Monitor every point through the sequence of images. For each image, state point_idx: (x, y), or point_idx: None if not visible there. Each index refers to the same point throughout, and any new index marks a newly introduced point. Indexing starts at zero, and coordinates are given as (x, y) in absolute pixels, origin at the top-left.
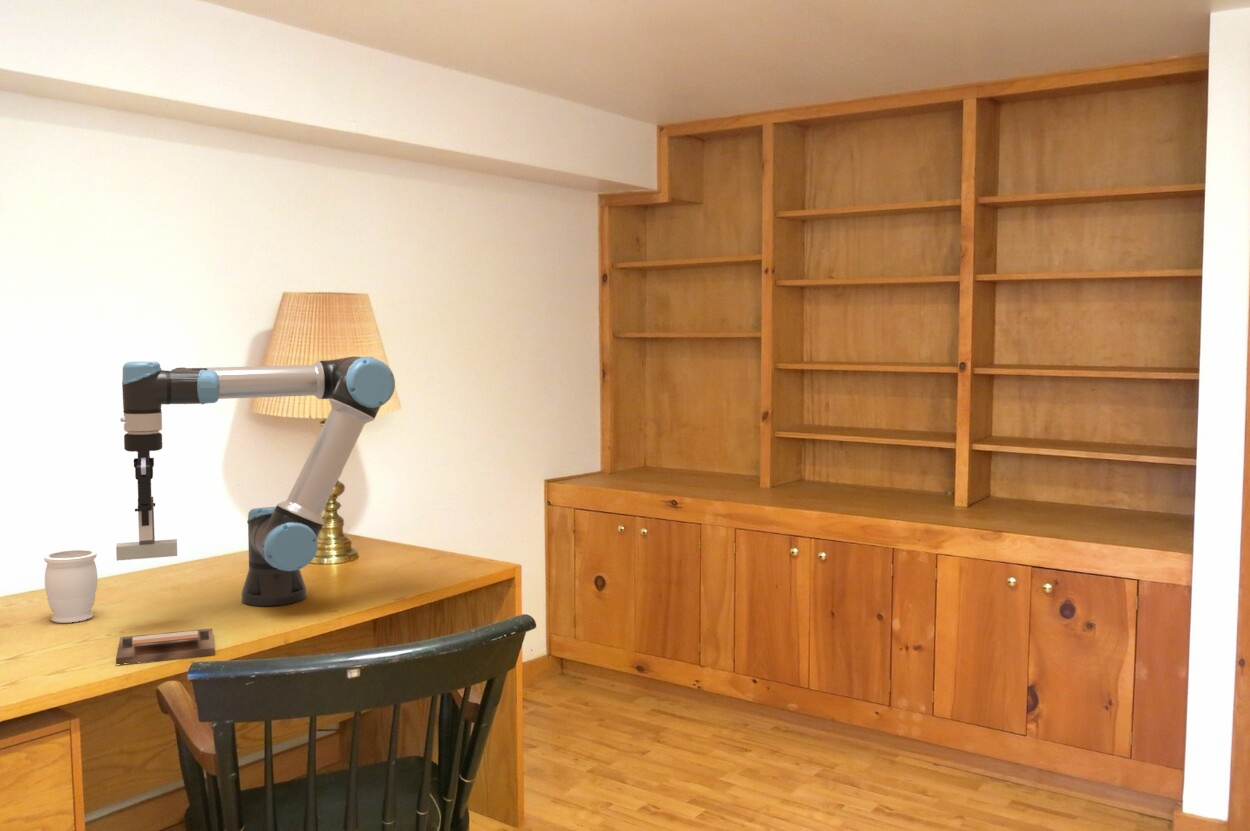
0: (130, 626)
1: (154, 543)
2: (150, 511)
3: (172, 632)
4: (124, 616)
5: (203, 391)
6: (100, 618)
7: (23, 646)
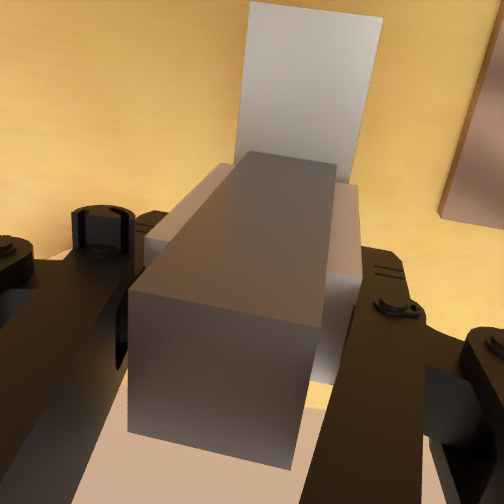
0: None
1: (328, 163)
2: (357, 284)
3: (492, 68)
4: (141, 162)
5: None
6: None
7: (316, 388)
